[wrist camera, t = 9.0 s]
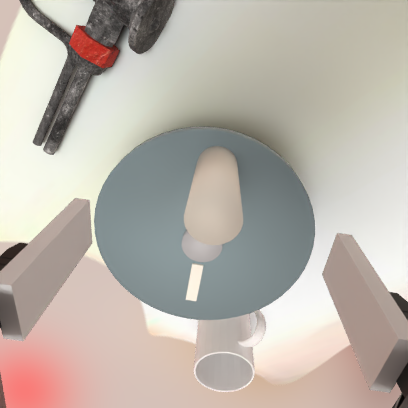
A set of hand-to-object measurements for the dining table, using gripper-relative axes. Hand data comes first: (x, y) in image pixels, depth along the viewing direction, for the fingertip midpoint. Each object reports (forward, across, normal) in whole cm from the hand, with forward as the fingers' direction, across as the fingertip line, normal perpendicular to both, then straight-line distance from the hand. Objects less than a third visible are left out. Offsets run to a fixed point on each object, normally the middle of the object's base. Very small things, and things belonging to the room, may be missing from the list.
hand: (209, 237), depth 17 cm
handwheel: (+14, 0, -8) cm, 16 cm away
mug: (+23, +6, -26) cm, 35 cm away
